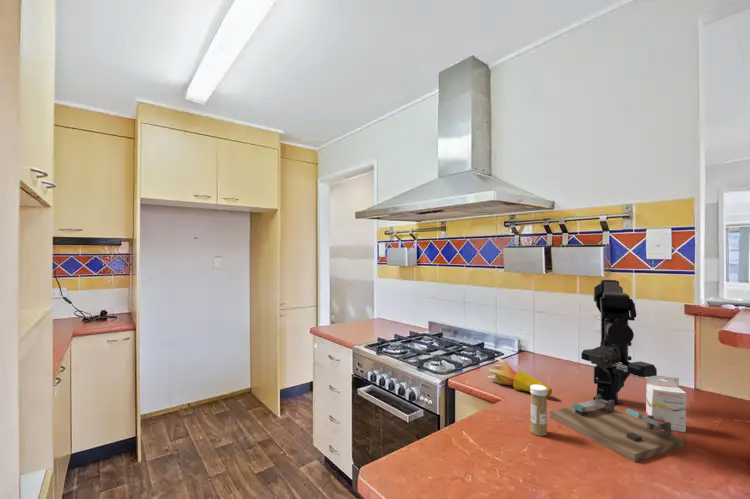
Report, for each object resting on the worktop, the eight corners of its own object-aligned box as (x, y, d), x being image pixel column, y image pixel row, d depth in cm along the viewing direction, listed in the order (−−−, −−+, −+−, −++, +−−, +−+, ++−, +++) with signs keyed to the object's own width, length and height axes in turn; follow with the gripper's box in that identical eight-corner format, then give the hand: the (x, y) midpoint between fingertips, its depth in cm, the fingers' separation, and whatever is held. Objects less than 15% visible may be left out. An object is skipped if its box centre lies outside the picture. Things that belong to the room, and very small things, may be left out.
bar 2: (653, 425, 103) (654, 420, 104) (665, 430, 100) (667, 425, 101) (625, 413, 99) (627, 408, 99) (638, 418, 96) (639, 412, 96)
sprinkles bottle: (548, 437, 102) (548, 390, 102) (531, 435, 104) (531, 388, 104) (545, 430, 107) (546, 384, 107) (529, 427, 108) (529, 383, 108)
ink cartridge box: (651, 428, 108) (652, 379, 108) (645, 420, 113) (645, 373, 113) (686, 432, 105) (686, 382, 105) (678, 425, 110) (678, 376, 110)
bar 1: (601, 402, 118) (601, 398, 118) (610, 406, 115) (610, 402, 115) (572, 408, 114) (572, 403, 114) (581, 412, 111) (582, 407, 111)
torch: (547, 410, 128) (487, 381, 148) (558, 396, 132) (498, 369, 152) (545, 394, 125) (483, 366, 144) (555, 379, 129) (494, 354, 148)
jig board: (594, 407, 122) (594, 391, 122) (683, 446, 98) (683, 426, 98) (550, 417, 115) (550, 400, 115) (634, 462, 91) (634, 440, 91)
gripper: (567, 332, 110) (567, 383, 110) (628, 347, 93) (628, 408, 92) (594, 330, 114) (594, 380, 113) (658, 344, 96) (658, 403, 96)
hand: (616, 391), depth 104 cm, fingers closed
